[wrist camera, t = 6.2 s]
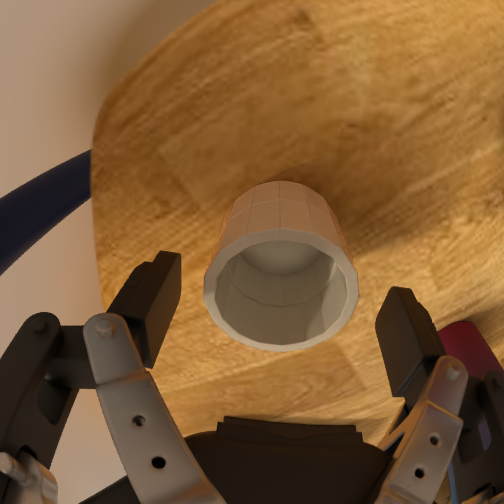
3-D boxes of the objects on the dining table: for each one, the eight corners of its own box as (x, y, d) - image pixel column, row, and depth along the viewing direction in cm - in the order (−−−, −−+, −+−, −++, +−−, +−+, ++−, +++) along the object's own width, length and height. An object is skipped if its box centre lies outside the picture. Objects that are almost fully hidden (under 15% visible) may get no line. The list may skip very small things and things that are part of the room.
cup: (420, 321, 18) (484, 530, 5) (495, 303, 17) (577, 471, 4) (405, 379, 22) (439, 545, 9) (472, 361, 21) (521, 507, 8)
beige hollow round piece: (221, 268, 17) (201, 340, 13) (231, 169, 14) (207, 216, 10) (321, 283, 17) (332, 357, 13) (348, 189, 14) (380, 244, 10)
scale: (217, 463, 34) (214, 482, 31) (224, 416, 26) (220, 443, 23) (312, 471, 34) (313, 490, 31) (355, 425, 26) (358, 451, 23)
